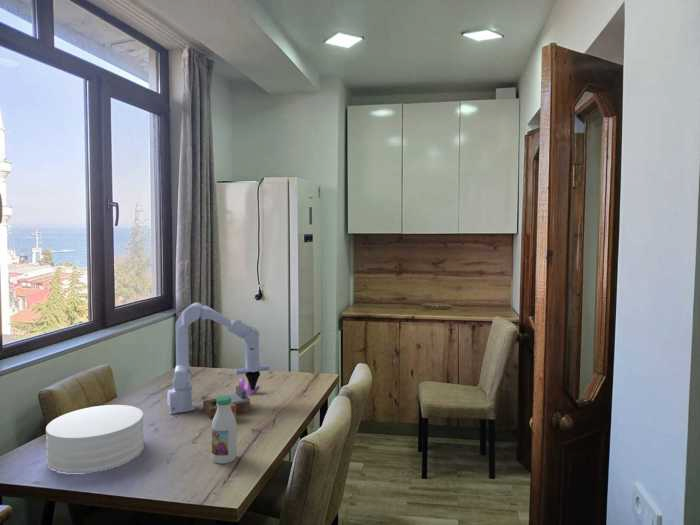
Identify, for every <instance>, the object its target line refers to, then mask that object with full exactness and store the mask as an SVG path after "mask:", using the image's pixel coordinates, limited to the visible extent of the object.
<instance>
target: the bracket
mask: <svg viewBox="0 0 700 525" xmlns="http://www.w3.org/2000/svg"><path fill="white" fill-rule="evenodd" d="M238 386H240V387H241V388H243V389H244V390H245V391H246V396H251V395H253V394H254V392H255V391H256V390H257V389H258V383H256V387H255V390H251V389H250V385H249V382H248V381H247V383H246V384H245V377H244V378H241V377H240V378H239V380H238Z"/></svg>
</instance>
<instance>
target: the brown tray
mask: <svg viewBox="0 0 700 525" xmlns="http://www.w3.org/2000/svg"><path fill="white" fill-rule="evenodd" d="M217 398H218V397H216V398H212V399H206V400H205V399H204V400H203V403H202V406H203V407H202V408H203V409H202V410H203V412H204V413H205V414H206V415H207V417H208V418H209V419H210V420H213V418H214V416H215V414H216V411H217V402H216V401H217ZM235 405H236V415H239V414H245V413H249V412H250V413H251V401H250V402H245V403H239V404H235Z"/></svg>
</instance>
